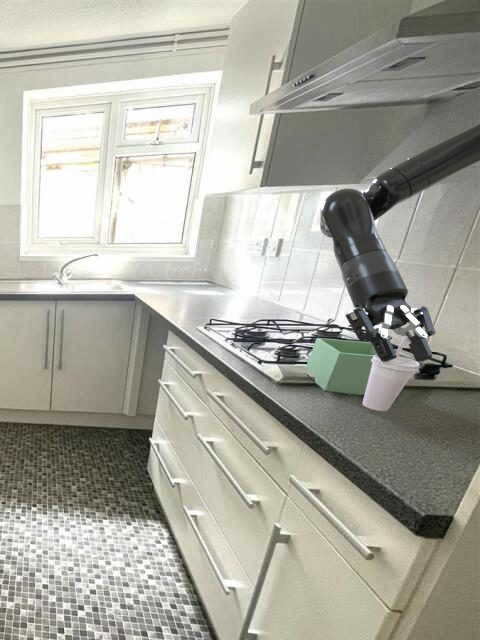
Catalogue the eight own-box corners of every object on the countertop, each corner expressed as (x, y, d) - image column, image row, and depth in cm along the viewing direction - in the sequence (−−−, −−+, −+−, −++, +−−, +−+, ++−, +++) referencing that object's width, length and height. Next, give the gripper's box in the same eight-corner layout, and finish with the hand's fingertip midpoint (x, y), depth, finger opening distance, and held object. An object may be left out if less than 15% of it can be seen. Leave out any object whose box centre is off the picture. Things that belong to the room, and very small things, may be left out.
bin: (359, 378, 106) (374, 342, 103) (387, 398, 96) (405, 359, 92) (303, 372, 110) (316, 337, 106) (324, 390, 99) (339, 353, 95)
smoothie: (392, 404, 81) (424, 335, 75) (402, 417, 76) (438, 345, 70) (350, 396, 84) (378, 330, 78) (357, 409, 79) (387, 339, 73)
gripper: (353, 269, 76) (389, 351, 70) (428, 268, 77) (469, 350, 71) (320, 292, 83) (350, 368, 77) (388, 291, 84) (423, 367, 78)
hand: (407, 359), depth 74 cm, fingers closed on smoothie, 6 cm apart
